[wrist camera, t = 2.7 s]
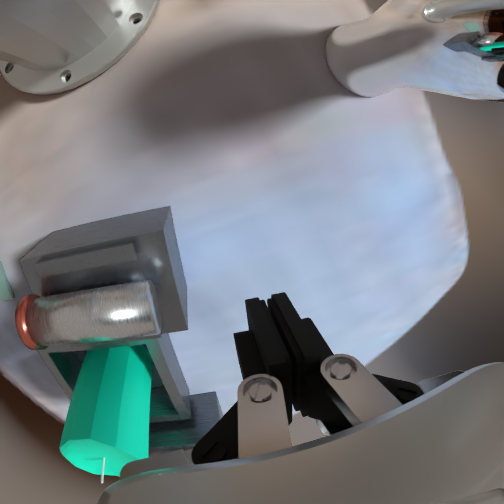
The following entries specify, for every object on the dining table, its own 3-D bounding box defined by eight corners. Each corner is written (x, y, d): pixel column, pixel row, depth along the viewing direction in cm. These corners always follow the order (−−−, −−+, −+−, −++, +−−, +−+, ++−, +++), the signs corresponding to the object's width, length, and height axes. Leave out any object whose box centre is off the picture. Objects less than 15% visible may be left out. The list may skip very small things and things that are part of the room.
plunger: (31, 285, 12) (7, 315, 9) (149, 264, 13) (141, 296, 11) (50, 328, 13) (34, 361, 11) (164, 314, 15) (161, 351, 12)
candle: (81, 363, 21) (52, 475, 10) (99, 320, 20) (61, 451, 9) (137, 389, 23) (132, 502, 12) (164, 352, 22) (164, 484, 11)
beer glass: (331, 107, 17) (544, 107, 4) (307, 19, 14) (471, -77, 1) (403, 100, 18) (576, 116, 4) (383, 23, 15) (540, -13, 1)
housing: (18, 241, 16) (-21, 273, 11) (170, 206, 18) (162, 234, 13) (121, 432, 25) (118, 470, 20) (225, 422, 27) (233, 463, 22)
